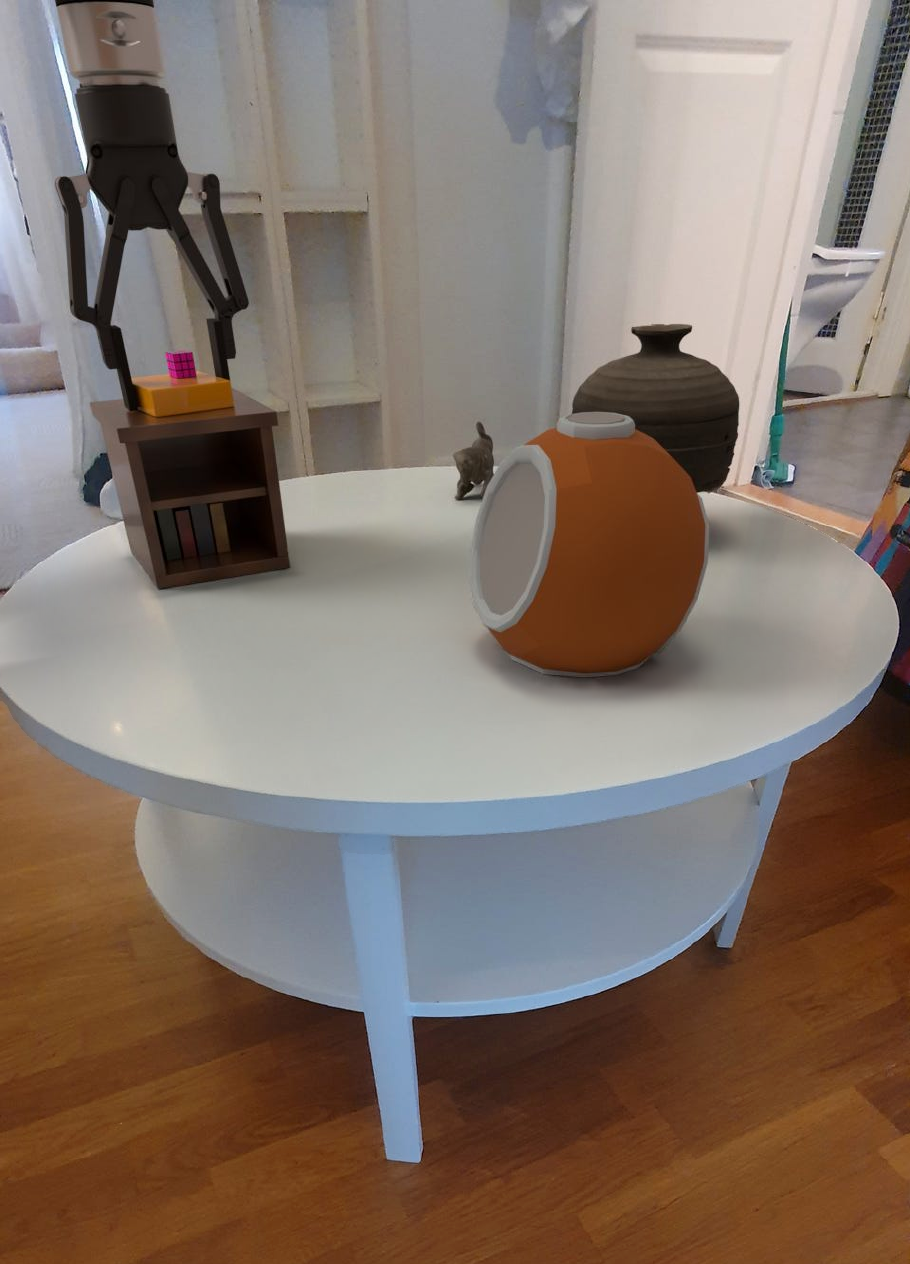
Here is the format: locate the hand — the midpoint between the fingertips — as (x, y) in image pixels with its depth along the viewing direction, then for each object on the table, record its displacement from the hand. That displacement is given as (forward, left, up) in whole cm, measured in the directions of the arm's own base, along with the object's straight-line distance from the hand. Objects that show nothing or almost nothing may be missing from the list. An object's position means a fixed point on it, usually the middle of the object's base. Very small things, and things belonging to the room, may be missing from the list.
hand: (179, 403), depth 89 cm
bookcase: (0, 0, -15) cm, 15 cm away
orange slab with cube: (0, 0, 0) cm, 0 cm away
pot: (+46, -15, -15) cm, 51 cm away
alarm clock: (+22, -40, -15) cm, 48 cm away
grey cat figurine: (+37, +9, -15) cm, 41 cm away
